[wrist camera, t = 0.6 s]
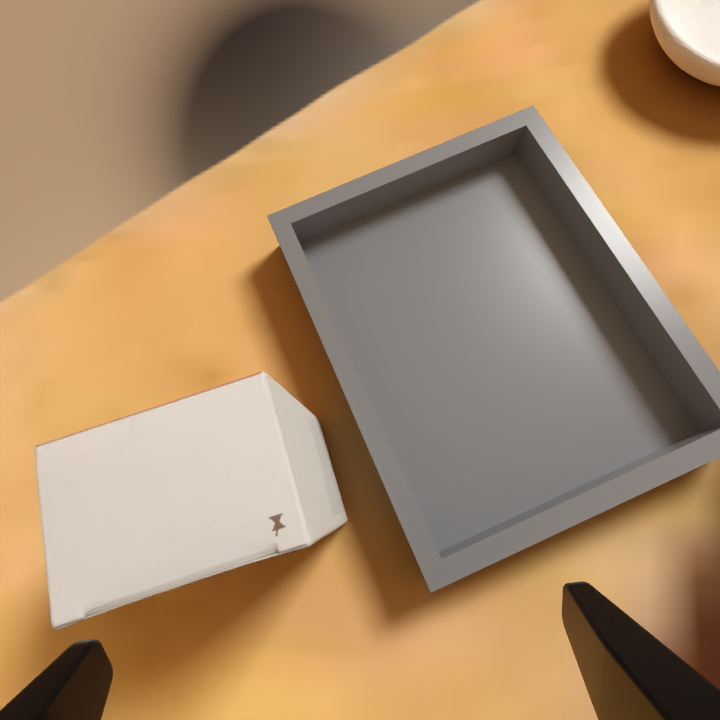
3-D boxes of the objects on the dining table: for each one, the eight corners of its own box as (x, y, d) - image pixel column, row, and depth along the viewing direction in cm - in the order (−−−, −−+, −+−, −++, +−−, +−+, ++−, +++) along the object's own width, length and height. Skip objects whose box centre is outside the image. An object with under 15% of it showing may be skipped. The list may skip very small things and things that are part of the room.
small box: (320, 417, 25) (270, 364, 15) (350, 523, 23) (318, 545, 13) (176, 463, 25) (26, 442, 15) (196, 573, 23) (43, 635, 13)
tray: (718, 443, 23) (764, 436, 20) (425, 580, 22) (430, 592, 19) (519, 144, 29) (533, 105, 26) (280, 244, 28) (267, 216, 25)
